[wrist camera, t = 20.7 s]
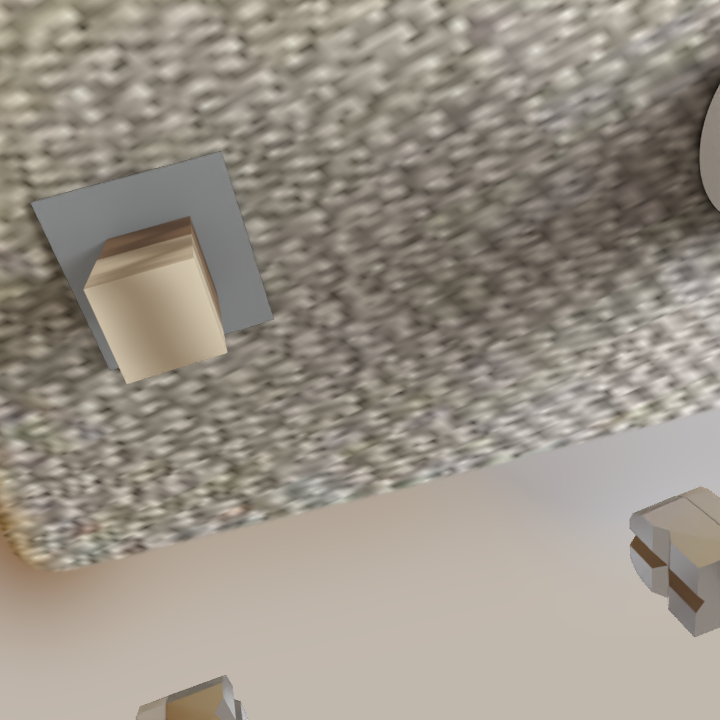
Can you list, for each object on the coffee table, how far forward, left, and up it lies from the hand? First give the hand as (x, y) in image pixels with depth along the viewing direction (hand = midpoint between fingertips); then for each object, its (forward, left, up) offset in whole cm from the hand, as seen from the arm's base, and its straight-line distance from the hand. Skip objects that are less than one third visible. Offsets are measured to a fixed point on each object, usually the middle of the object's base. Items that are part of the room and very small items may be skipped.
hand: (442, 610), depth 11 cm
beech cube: (+6, 0, -25) cm, 26 cm away
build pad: (+6, 0, -31) cm, 32 cm away
